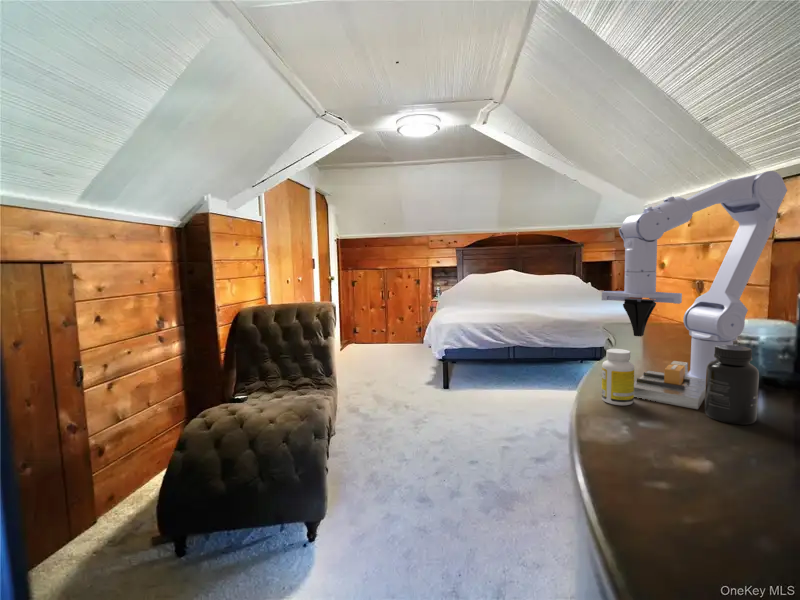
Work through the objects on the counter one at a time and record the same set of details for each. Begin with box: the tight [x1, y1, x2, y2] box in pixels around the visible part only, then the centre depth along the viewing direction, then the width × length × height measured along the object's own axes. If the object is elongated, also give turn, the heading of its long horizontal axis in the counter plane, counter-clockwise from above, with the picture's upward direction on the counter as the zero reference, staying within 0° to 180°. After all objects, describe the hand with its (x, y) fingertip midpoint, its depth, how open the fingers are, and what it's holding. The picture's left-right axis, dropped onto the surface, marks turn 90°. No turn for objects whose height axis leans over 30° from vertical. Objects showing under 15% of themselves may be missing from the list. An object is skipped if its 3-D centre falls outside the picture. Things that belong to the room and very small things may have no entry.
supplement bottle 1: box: [601, 348, 635, 406], centre depth 77 cm, size 5×5×10 cm
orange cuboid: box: [663, 364, 684, 385], centre depth 81 cm, size 4×2×3 cm, turn 136°
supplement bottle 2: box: [704, 344, 760, 426], centre depth 68 cm, size 7×7×12 cm
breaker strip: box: [634, 360, 706, 410], centre depth 81 cm, size 14×11×5 cm
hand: (638, 335), depth 87 cm, fingers closed
